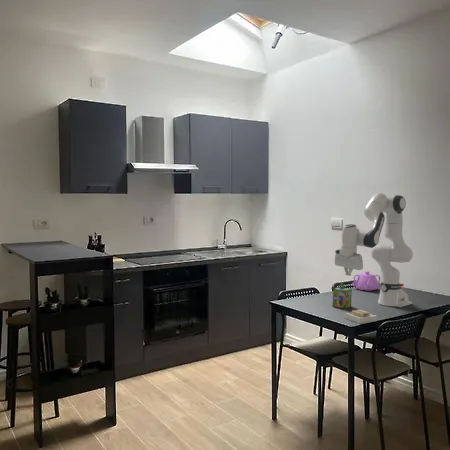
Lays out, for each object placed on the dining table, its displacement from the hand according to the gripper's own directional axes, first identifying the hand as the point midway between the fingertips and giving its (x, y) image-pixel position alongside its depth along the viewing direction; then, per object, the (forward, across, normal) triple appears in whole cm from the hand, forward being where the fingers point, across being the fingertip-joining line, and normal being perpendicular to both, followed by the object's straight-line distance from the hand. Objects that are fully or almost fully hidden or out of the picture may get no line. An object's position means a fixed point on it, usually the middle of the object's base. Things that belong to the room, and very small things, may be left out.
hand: (348, 275), depth 271 cm
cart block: (+24, -12, +1) cm, 27 cm away
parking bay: (+24, -12, +1) cm, 26 cm away
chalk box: (+24, +17, -12) cm, 32 cm away
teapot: (+25, +47, -66) cm, 85 cm away
